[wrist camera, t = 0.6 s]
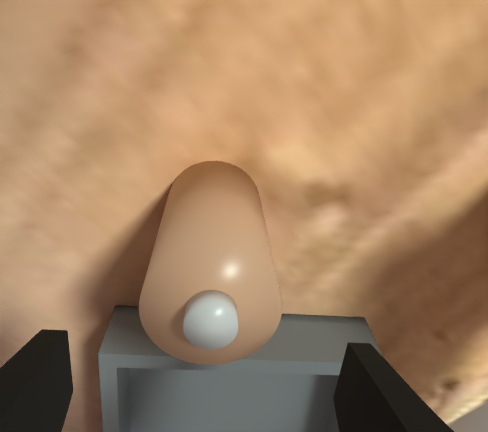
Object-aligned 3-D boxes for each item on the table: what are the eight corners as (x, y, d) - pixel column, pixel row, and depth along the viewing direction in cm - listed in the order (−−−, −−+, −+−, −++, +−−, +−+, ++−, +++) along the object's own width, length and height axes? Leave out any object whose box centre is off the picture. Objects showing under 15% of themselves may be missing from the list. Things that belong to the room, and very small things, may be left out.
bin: (364, 317, 24) (386, 364, 21) (321, 474, 30) (333, 529, 26) (115, 305, 23) (98, 353, 19) (120, 471, 28) (108, 529, 25)
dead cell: (265, 164, 20) (296, 268, 12) (254, 247, 22) (275, 386, 14) (168, 157, 19) (133, 259, 11) (166, 242, 21) (134, 381, 13)
